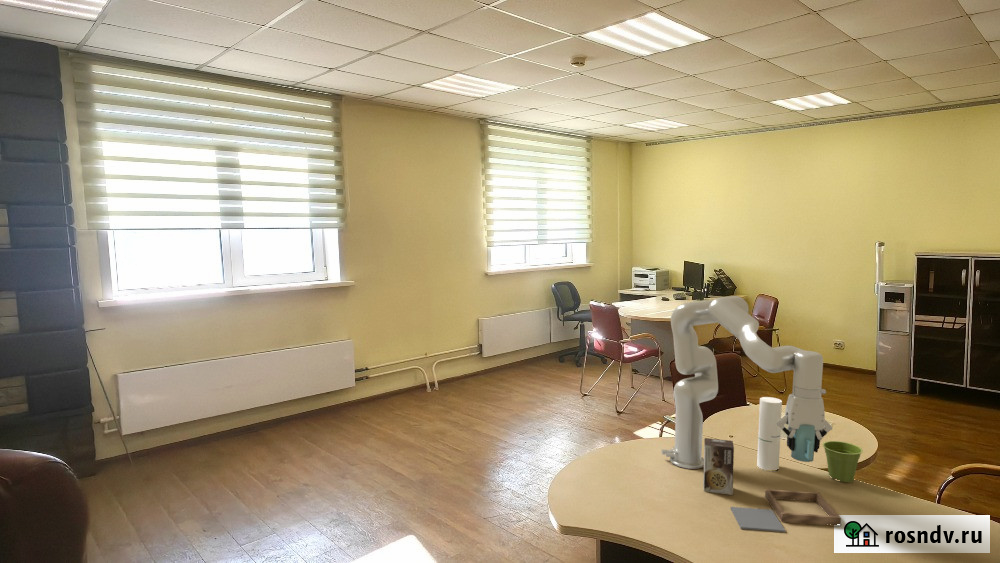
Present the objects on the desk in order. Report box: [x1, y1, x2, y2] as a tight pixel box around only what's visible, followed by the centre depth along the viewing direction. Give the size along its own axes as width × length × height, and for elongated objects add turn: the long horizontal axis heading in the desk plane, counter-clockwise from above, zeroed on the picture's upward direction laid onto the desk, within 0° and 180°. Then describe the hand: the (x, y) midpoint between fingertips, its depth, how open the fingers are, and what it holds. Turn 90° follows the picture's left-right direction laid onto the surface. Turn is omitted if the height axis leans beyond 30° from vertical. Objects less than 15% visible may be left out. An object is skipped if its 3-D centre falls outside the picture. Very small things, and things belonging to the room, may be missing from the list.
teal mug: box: [790, 425, 815, 463], centre depth 169 cm, size 9×6×11 cm, turn 171°
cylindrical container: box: [756, 396, 783, 471], centre depth 202 cm, size 7×7×25 cm
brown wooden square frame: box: [764, 488, 842, 526], centre depth 172 cm, size 16×16×2 cm
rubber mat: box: [730, 506, 786, 533], centre depth 166 cm, size 12×12×1 cm
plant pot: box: [822, 440, 864, 483], centre depth 194 cm, size 12×12×11 cm
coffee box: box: [702, 437, 735, 496], centre depth 185 cm, size 9×6×16 cm
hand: (802, 449), depth 170 cm, fingers closed on teal mug, 6 cm apart
